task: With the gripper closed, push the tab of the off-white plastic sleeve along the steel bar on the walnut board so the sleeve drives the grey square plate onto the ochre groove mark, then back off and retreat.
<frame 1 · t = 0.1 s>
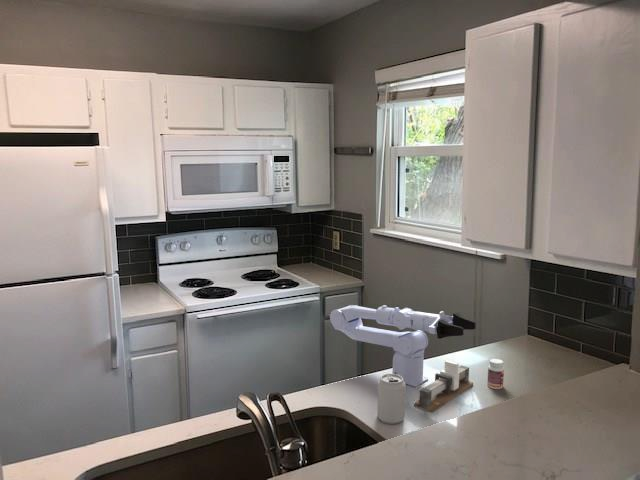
hand: (469, 328, 156), 22 cm above the countertop, tool horizontal, fingers open, 7 cm apart
pill bottle: (495, 386, 167), on the countertop
pipe board: (444, 394, 161), on the countertop
can: (390, 419, 146), on the countertop
sleeve: (449, 375, 162), point 6 cm above the countertop, slide at 0.0 cm
grey square plate: (442, 383, 159), point 4 cm above the countertop, slide at 0.0 cm
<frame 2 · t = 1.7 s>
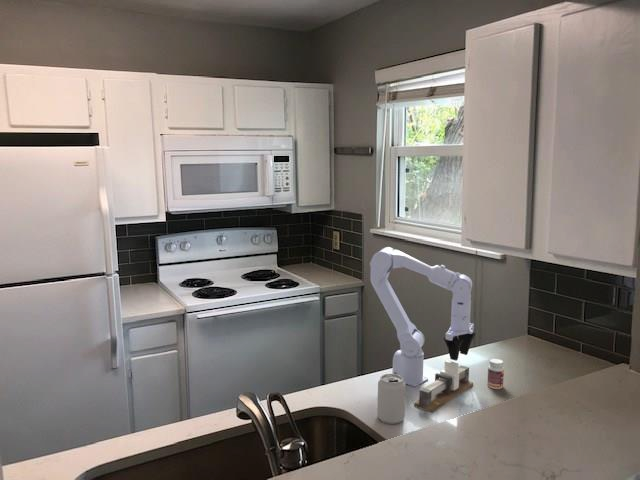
hand: (458, 356, 165), 10 cm above the countertop, tool pointing down, fingers open, 6 cm apart
nothing on the countertop moved.
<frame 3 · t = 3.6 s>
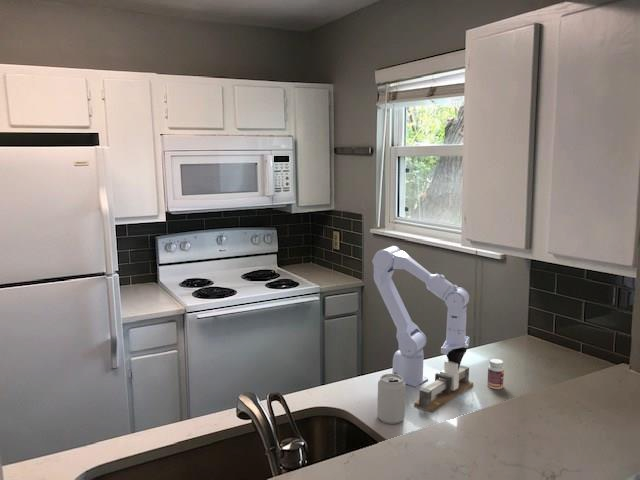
hand: (454, 370, 164), 6 cm above the countertop, tool pointing down, fingers closed
sleeve: (449, 375, 162), point 6 cm above the countertop, slide at 0.2 cm, touching gripper
everything else where it was.
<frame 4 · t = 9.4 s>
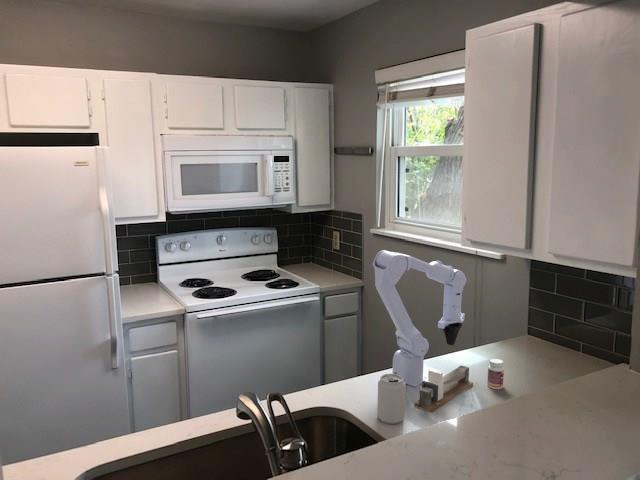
hand: (450, 344, 177), 10 cm above the countertop, tool pointing down, fingers closed
sleeve: (433, 384, 155), point 6 cm above the countertop, slide at 9.5 cm, touching grey square plate
grey square plate: (429, 391, 154), point 4 cm above the countertop, slide at 7.5 cm, touching sleeve
everything else where it was.
at the end: grey square plate slide at 7.5 cm; sleeve slide at 9.5 cm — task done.
